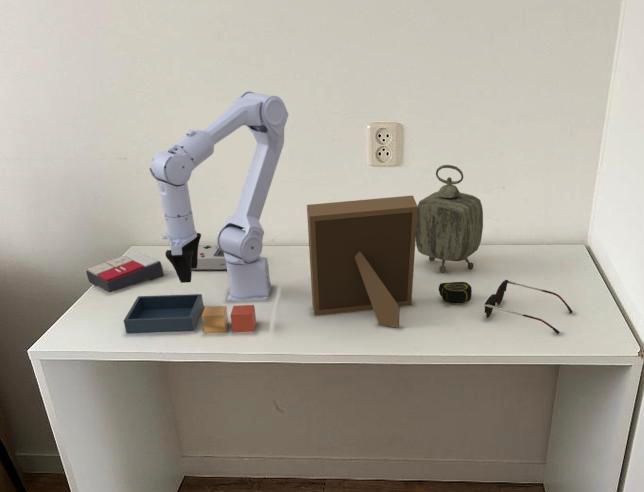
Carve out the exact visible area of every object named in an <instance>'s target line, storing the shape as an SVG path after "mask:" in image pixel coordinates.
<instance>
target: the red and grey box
mask: <svg viewBox="0 0 644 492" xmlns="http://www.w3.org/2000/svg"><path fill="white" fill-rule="evenodd" d="M85 272H86V276H87V279H88V282H89V283H90V284H92V285H94V286H95V287H99V288H100V289H102V290H103V291H106V292H108V293H113V292H115V291H118V290H122V289H125V288H128V287H130V286H134V285H137V284H140V283H142V282H144V281H146V280H149V281H153V280H155V279H158V278H160V277H163V276H164V274H165V273H164V270H163V266H162V262H161V261H160V260H158V259H156V258H154V257H151V256H150V255H147V254H145V253H143V252H141V251H135V252H132V253H128V254H126V255H122V256H119V257H115V258H113V259H111V260H108V261H106V262H103V263H99V264H96V265H94V266H91V267H88V268H87V270H86V271H85Z"/></svg>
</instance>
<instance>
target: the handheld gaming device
mask: <svg viewBox="0 0 644 492" xmlns="http://www.w3.org/2000/svg"><path fill="white" fill-rule="evenodd" d="M194 270H227V265H226V259H225V257H224V252H223V251H221V250H220V249H219V247H218V245H217V244H216V245H215V244H214V245H212V244H211V245H210V244H209V245H206V244H205V245H201V244H199V246H198V262H197V268H195V269H194Z"/></svg>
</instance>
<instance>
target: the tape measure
mask: <svg viewBox="0 0 644 492" xmlns="http://www.w3.org/2000/svg"><path fill="white" fill-rule="evenodd" d="M438 292H439V296H440V297H441V299H442V301H443V302H445V303H446V304H453V305H460V304H465V303H468V302H469V301H470V300H471V299H472V295H473V289H472V286H471V285H470V284H469V283H468V282H466V281H452V282H441V283H439V285H438Z"/></svg>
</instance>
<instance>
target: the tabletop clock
mask: <svg viewBox="0 0 644 492" xmlns="http://www.w3.org/2000/svg"><path fill="white" fill-rule="evenodd" d="M442 169H452V170H455V171H456V172H458V173H459V174H460V176H461V177H460V179H458V180H455V181H454V180H453V179H452V177H450V176H449V177H447V178H446V179H443V178H441V177H440V176H439V171H441V170H442ZM435 175H436V178H437V180H438V181H440V182H441V183H443V184H444V185H442V186H441V187H440V188H439V190H438V191H435V192H433V193H431V194H429V195H428V196H425V197H424V198H423V199H421V200H419V201H418V204H417V206H418V210H417V226H416V241H415V246H416V250H417V252H418V253H420V254H421V255H424V256H426V257H428V260H429V261H430V262H435V260H436V259H437V260H440V261H441V265H440V266H439V269H438V270H439V272H440V273H445V272H446V266H445V263H446V261H448V262H462V261H465V262H466V263H467V269H469V270H472V269H474V268H475V265H474V263H473V262H470V260H469V257H470V256H472V255H473V254H474V253H475V252H477V251H479V250H478V249H479V248H480V245H481V242H482V237H483V230H484V211H483V210H484V209H483V204H482V201H481V199H480V198H479V197H477V196H475V195H473V194H469V193H464V192H460V190H459V188H458V187H457V186H456V185H458V184H460V183H461V182H463V180H464V173H463V171H462V170H461V169H460V167H458V166H455V165H451V164H443V165H440V166H439V167H438V168H436V170H435Z"/></svg>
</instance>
